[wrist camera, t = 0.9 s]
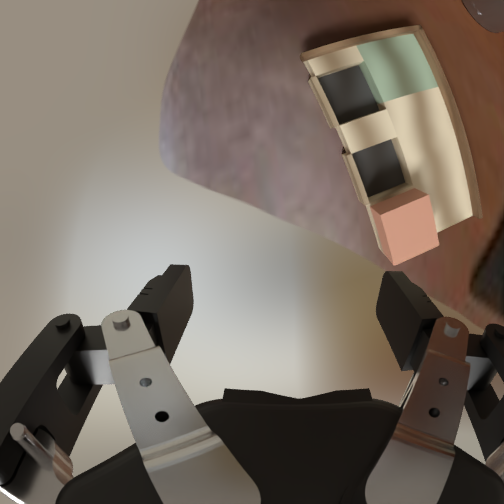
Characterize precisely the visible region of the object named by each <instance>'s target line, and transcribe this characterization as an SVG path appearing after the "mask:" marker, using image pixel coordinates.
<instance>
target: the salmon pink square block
mask: <svg viewBox="0 0 504 504" xmlns="http://www.w3.org/2000/svg"><path fill="white" fill-rule="evenodd" d="M370 209H371V212H372V215H373V218H374V221H375V225H376V228H377V231H378V235H379V238H380V242H381V245H382V249H383V252H384V254H385V255H386V256H387V258H388V259H389V260H390V261H391V263H392V264H393V265H394V266H395V265H397V264H399V263H402V262H404V261H406V260H408V259H411V258H413V257H415V256H417V255H419V254H422V253H424V252H426V251H428V250H430V249H432V248H434V247H437V246H439V241H438V236H437V230H436V225H435V220H434V215H433V210H432V206H431V201H430V197H429V194H426V193H424V192H422V191H420V190H418V189H416V188H413V189H411V190H409V191H406V192H404V193H401V194H399V195H396V196H394V197H392V198H389V199H387V200H384V201H382V202H379V203H377V204H374V205H372V206H370Z"/></svg>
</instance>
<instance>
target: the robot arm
mask: <svg viewBox="0 0 504 504" xmlns="http://www.w3.org/2000/svg"><path fill="white" fill-rule="evenodd" d="M462 1H463V3H464V5H465V7H466V8H467V10H468V11H469V13H470V14H471V15H472V17H473V18H474V19H475V20H476V21H477V22H478V23H479V24H480V25H481V26H483V27H484V28H485V29H487V30H489V31H491V32H494V33H499V32H503V31H504V0H462ZM192 310H193V292H192V282H191V272H190V267H189V265H173V264H172V265H170V266H169V267H168V269H167V270H166V271H165V272H164V274H163V275H158V276H156V277H155V278H153V279H151V280H150V281H149V282H148V283H147V284H146V286H145V287H144V289H142V291H141V292H140V294H139V295H138V296H137V297H136V298H135V300H134V301H133V302H132V304H131V305H130V306H129V307H128V309H127V310H120V311H116V312H113V313H111V314H109V315H108V316H106V317H105V318H104V319H103V321H102V324H101V325H99V326H86V327H85V326H84V327H83V325H82V322H81V319H80V317H79V316H77V315H75V314H63V315H60V316H57V317H56V318H54V319H52V320H51V321H50V322H49V323H48V324H47V325H46V327H45V328H44V329H43V330H42V331H41V332H40V334H39V335H38V336H37V337H36V338H35V339H34V341H33V342H32V343H31V344H30V345H29V347H28V348H27V349H26V350H25V351H24V353H23V354H22V355H21V356H20V358H19V359H18V360H17V362H16V363H15V364H14V365H13V367H12V368H11V369H10V370H9V372H8V373H7V374H6V376H5V377H4V379H3V380H2V381H1V383H0V492H1V493H3V494H4V495H5V496H7V497H8V498H9V499H11V500H12V501H14V502H17V503H19V504H504V395H503V398H502V399H501V400H500V401H499V399H498V397H497V395H496V393H495V391H494V389H493V387H492V386H491V384H490V383H491V381H492V380H493V378H494V376H495V375H496V373H497V372H498V373H499V375H500V377H501V378H502V380H503V382H504V327H503V326H501V325H499V324H489V325H487V326H486V328H485V330H484V333H483V335H476V334H469V331H468V328H467V327H466V326H465V325H464V324H463V323H462V322H461V321H459V320H457V319H455V318H451V317H444V316H443V315H442V314H441V312H440V311H439V310H438V309H437V307H436V306H435V305H434V304H433V302H431V300H430V298H429V297H427V295H426V293H425V292H424V291H423V290H422V289H421V288H420V287H418V286H417V285H415V284H414V283H412V282H411V281H410V280H409V279H408V277H407V276H406V275H405V274H404V273H403V272H402V271H386V272H385V273H384V275H383V278H382V283H381V287H380V292H379V296H378V300H377V305H376V315H377V318H378V321H379V323H380V325H381V327H382V329H383V331H384V333H385V335H386V337H387V340H388V341H389V344H390V346H391V348H392V351H393V353H394V355H395V357H396V359H397V362H398V364H399V366H400V368H401V371H407V370H414V374H413V376H412V378H411V380H410V382H409V385H408V387H407V389H406V391H405V394H404V396H403V398H402V400H401V402H400V404H399V406H397V405H394V404H392V403H389V402H386V401H383V400H378V399H372V397H371V393H370V390H369V388H368V389H355V390H340V391H333V392H329V393H325V394H320V395H317V396H312V397H307V398H302V399H296V398H292V397H287V396H281V395H277V394H273V393H268V392H264V391H254V390H238V389H225V390H224V395H223V399H217V400H212V401H208V402H204V403H201V404H198V405H196V406H194V404H193V403H192V401H191V399H190V398H189V396H188V395H187V393H186V392H185V390H184V388H183V386H182V385H181V383H180V382H179V380H178V378H177V376H176V375H175V373H174V371H173V369H172V368H171V366H170V363H171V361H172V358H173V356H174V354H175V351H176V349H177V347H178V344H179V342H180V340H181V337H182V335H183V332H184V330H185V328H186V326H187V323H188V321H189V318H190V316H191V314H192ZM64 368H65V370H66V373H67V375H66V376H65V378H64V380H63V381H62V383H61V384H60V386H59V388H58V389H57V387H56V383H57V379H58V376H59V375H60V373H61V372H62V370H63V369H64ZM103 384H115V386H116V389H117V392H118V395H119V398H120V401H121V404H122V407H123V410H124V413H125V415H126V418H127V421H128V424H129V426H130V429H131V431H132V434H133V436H134V439H135V441H136V443H134V444H133V445H131V446H130V447H128V448H126V449H124V450H123V451H122V452H119V453H118V454H116V455H115V456H113V457H111V458H109V459H107V460H106V461H104V462H102V463H100V464H98V465H97V466H95V467H93V468H91V469H89V470H87V471H85V472H84V473H81V474H80V475H78V476H76V477H73V475H72V473H73V464H72V461H71V459H70V458H69V456H70V454H71V452H72V449H73V447H74V445H75V442H76V440H77V438H78V436H79V433H80V431H81V429H82V427H83V425H84V423H85V420H86V418H87V416H88V414H89V412H90V410H91V408H92V406H93V404H94V402H95V399H96V397H97V395H98V393H99V391H100V389H101V387H102V385H103ZM463 406H465V408H466V411H467V413H468V416H469V418H470V420H471V423H472V425H473V428H474V430H475V433H476V436H477V439H478V441H479V444H480V447H481V450H482V453H483V456H484V459H485V461H486V464H483V463H481V462H480V461H478V460H477V459H475V458H474V457H472V456H471V455H469V454H467V453H466V452H464V451H463V450H462V449H460V448H458V447H457V446H456V445H454V441H455V438H456V435H457V431H458V427H459V423H460V419H461V415H462V410H463Z"/></svg>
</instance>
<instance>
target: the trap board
mask: <svg viewBox="0 0 504 504" xmlns="http://www.w3.org/2000/svg"><path fill="white" fill-rule="evenodd" d="M300 59H301V61H302V62H304V64H305V66H306V68H307V70H308V72H309V73H310V75H311V78H310V79H309V81H308V83H309V85H310V87H311V89H312V91H313V93H314V95H315V97H316V99H317V101H318V103H319V105H320V107H321V109H322V111H323V113H324V115H325V118H326V120H327V122H328V124H329V126H330V128H334V127H336V130H337V132H338V134H339V137H340V139H341V141H342V144H343V146H344V148H345V151H346V153H343V154H342V157H343V159H344V162H345V164H346V167H347V169H348V172H349V175H350V177H351V180H352V183H353V185H354V188H355V191H356V194H357V196H358V199H359V201H360V202H361V203H362V204H364V205H366V208H367V211H368V214H369V217H370V220H371V223H372V226H373V229H374V233H375V236H376V239H377V243H378V246H379V249H380V250H381V251H382V252H383V249H382V245H381V242H380V238H379V235H378V231H377V228H376V225H375V221H374V218H373V215H372V212H371V209H370V206H372V205H374V204H377V203H379V202H382V201H384V200H387V199H389V198H392V197H394V196H396V195H399V194H401V193H404V192H406V191H409V190H411V189H413V188H416V189H418V190H420V191H422V192H424V193H426V194H429V197H430V201H431V206H432V210H433V215H434V220H435V225H436V230H437V232H439V231H441V230H443V229H446V228H448V227H450V226H452V225H454V224H456V223H458V222H460V221H462V220H464V219H466V218H468V217H470V216H472V215H473V216H475V217H477V218H478V219H481V218H483V217H482V209H481V202H480V195H479V189H478V184H477V179H476V174H475V169H474V164H473V160H472V156H471V151H470V147H469V144H468V140H467V136H466V133H465V129H464V126H463V123H462V120H461V116H460V113H459V110H458V107H457V105H456V102H455V99H454V96H453V94H452V91H451V88H450V86H449V83H448V81H447V78H446V76H445V74H444V71H443V69H442V67H441V65H440V62H439V60H438V58H437V56H436V54H435V52H434V50H433V48H432V46H431V44H430V42H429V40H428V38H427V36H426V34H425V32H424V30H423V29H422V27H421V25H415V26H408V27H402V28H396V29H390V30H385V31H380V32H375V33H371V34H366V35H362V36H358V37H354V38H350V39H346V40H342V41H339V42H335V43H332V44H328V45H325V46H322V47H319V48H316V49H312V50H309V51H306V52H303V53H301V55H300ZM383 253H384V252H383ZM384 255H385V254H384Z"/></svg>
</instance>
